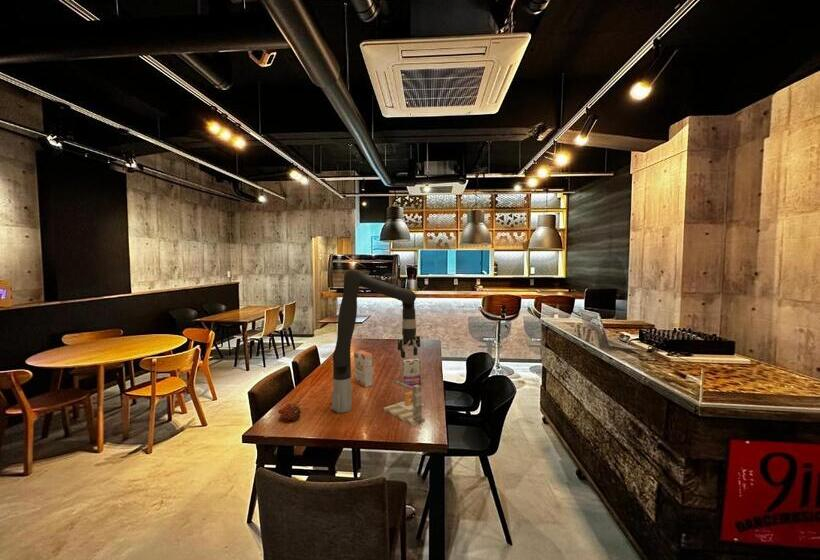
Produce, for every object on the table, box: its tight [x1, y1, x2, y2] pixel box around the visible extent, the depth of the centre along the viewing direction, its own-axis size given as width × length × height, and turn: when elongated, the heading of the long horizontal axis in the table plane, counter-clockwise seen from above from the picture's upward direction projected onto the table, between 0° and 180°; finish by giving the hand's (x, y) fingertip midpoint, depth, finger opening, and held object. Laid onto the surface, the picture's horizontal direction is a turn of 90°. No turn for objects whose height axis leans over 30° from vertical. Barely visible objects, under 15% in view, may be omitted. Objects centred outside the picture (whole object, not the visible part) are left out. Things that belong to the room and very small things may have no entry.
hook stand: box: [383, 379, 426, 427], centre depth 174 cm, size 24×7×18 cm, turn 41°
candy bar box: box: [401, 358, 422, 387], centre depth 220 cm, size 11×5×16 cm, turn 101°
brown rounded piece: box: [278, 403, 302, 422], centre depth 172 cm, size 8×8×12 cm
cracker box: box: [353, 349, 374, 388], centre depth 222 cm, size 14×6×21 cm, turn 37°
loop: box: [403, 390, 413, 406], centre depth 187 cm, size 6×2×6 cm, turn 131°
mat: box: [395, 398, 425, 412], centre depth 188 cm, size 11×11×1 cm
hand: (409, 356), depth 187 cm, fingers open, 8 cm apart
